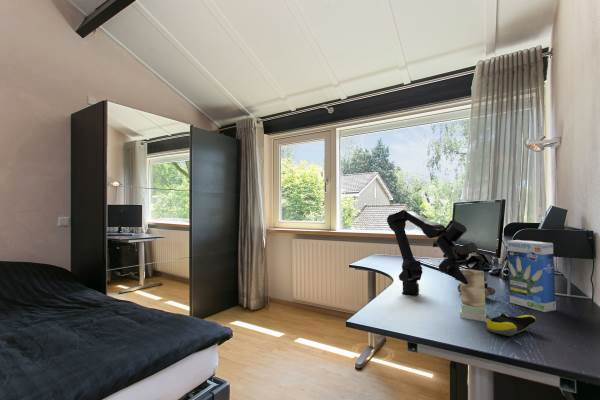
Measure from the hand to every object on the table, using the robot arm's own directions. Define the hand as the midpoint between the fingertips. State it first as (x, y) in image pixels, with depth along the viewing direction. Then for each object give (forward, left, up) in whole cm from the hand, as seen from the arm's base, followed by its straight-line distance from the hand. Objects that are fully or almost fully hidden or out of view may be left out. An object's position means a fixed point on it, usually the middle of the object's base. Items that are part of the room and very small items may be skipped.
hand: (476, 282), depth 107 cm
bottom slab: (-2, +1, -13) cm, 13 cm away
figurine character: (-2, +28, -13) cm, 31 cm away
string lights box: (+18, +24, -13) cm, 32 cm away
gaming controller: (+9, -10, -13) cm, 19 cm away
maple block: (-1, +1, -8) cm, 8 cm away
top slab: (-1, +1, -11) cm, 11 cm away
